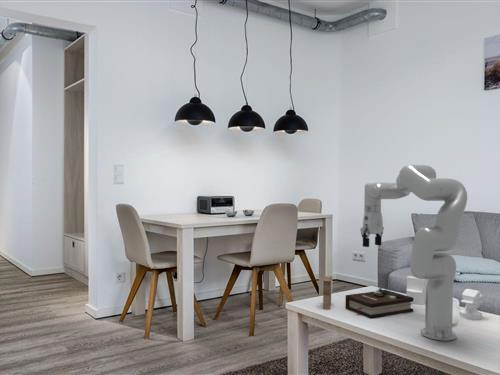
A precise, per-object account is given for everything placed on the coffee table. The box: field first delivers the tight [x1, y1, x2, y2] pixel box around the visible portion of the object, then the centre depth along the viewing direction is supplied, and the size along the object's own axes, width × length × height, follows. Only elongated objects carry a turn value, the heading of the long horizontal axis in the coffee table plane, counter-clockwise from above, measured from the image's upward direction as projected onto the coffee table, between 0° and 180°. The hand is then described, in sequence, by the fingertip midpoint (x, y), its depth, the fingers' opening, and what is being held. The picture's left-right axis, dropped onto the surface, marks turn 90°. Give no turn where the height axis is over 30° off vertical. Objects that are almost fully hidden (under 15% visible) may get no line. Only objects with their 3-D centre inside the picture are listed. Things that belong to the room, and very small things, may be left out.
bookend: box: [322, 275, 333, 310], centre depth 208 cm, size 11×3×13 cm, turn 166°
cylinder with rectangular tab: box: [406, 275, 427, 306], centre depth 218 cm, size 9×9×12 cm
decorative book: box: [345, 288, 414, 320], centre depth 203 cm, size 19×8×30 cm
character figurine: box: [459, 288, 484, 321], centre depth 193 cm, size 9×10×12 cm
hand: (372, 245), depth 207 cm, fingers open, 9 cm apart
